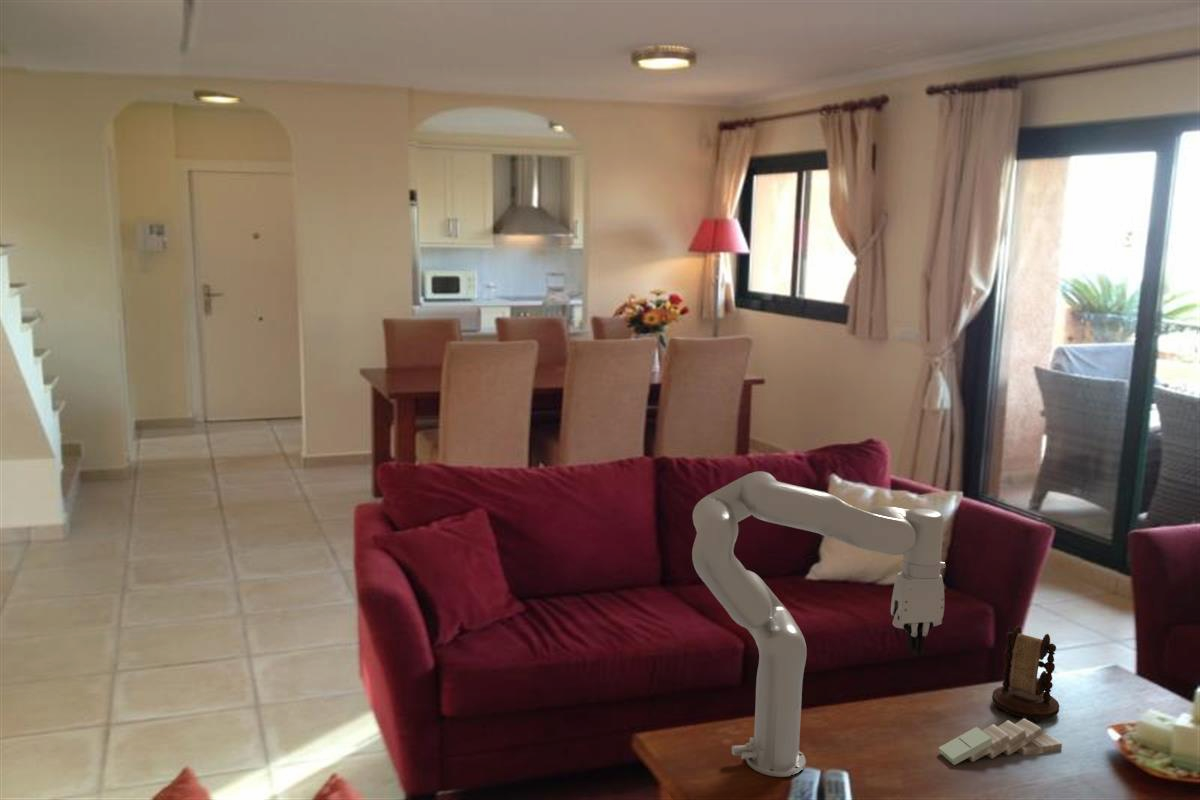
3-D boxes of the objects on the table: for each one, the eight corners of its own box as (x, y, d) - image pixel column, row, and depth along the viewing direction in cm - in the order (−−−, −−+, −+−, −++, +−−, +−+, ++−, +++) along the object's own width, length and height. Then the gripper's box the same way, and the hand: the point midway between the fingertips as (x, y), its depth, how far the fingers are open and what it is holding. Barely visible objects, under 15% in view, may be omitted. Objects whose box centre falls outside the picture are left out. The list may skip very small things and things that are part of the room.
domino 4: (1006, 749, 215) (1041, 727, 218) (989, 739, 220) (1024, 718, 223) (1008, 755, 216) (1042, 733, 218) (991, 745, 220) (1025, 724, 223)
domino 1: (952, 759, 211) (991, 737, 213) (938, 747, 216) (976, 726, 218) (954, 765, 212) (993, 744, 214) (940, 753, 216) (978, 732, 218)
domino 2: (970, 756, 213) (1008, 734, 215) (956, 744, 217) (993, 723, 219) (972, 762, 213) (1010, 741, 215) (957, 750, 218) (995, 729, 220)
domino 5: (1023, 749, 216) (1062, 743, 218) (1008, 738, 221) (1046, 732, 223) (1022, 756, 216) (1061, 750, 219) (1007, 745, 221) (1045, 739, 223)
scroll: (981, 709, 237) (988, 630, 233) (1005, 689, 248) (1012, 613, 244) (1045, 731, 227) (1053, 648, 224) (1067, 709, 238) (1075, 630, 234)
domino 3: (990, 752, 214) (1024, 729, 217) (973, 742, 218) (1008, 719, 221) (991, 759, 214) (1026, 735, 217) (975, 748, 219) (1009, 725, 222)
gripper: (944, 560, 211) (937, 642, 214) (879, 564, 208) (873, 647, 211) (963, 572, 203) (957, 657, 206) (896, 576, 200) (891, 662, 203)
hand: (915, 651), depth 209 cm, fingers closed
